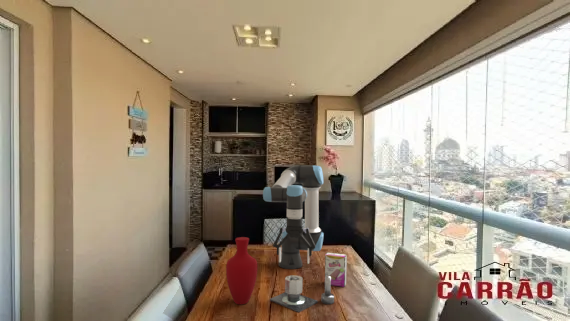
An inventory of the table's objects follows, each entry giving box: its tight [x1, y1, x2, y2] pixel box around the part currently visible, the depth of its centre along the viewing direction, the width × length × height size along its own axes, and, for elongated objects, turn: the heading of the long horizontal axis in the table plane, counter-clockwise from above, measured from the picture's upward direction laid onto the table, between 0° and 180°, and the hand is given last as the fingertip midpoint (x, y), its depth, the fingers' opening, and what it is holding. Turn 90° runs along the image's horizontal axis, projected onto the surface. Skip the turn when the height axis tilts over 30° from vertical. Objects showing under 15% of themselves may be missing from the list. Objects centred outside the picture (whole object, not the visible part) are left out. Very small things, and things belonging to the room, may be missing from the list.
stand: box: [320, 275, 335, 305], centre depth 154 cm, size 6×6×12 cm
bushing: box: [284, 274, 304, 295], centre depth 153 cm, size 8×8×6 cm
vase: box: [225, 236, 258, 305], centre depth 153 cm, size 15×15×30 cm
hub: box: [269, 279, 318, 313], centre depth 153 cm, size 18×14×10 cm
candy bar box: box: [324, 252, 347, 288], centre depth 175 cm, size 11×5×16 cm, turn 71°
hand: (294, 262), depth 154 cm, fingers open, 13 cm apart
